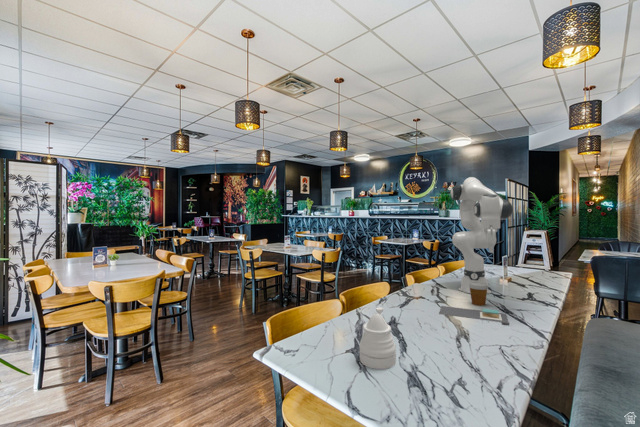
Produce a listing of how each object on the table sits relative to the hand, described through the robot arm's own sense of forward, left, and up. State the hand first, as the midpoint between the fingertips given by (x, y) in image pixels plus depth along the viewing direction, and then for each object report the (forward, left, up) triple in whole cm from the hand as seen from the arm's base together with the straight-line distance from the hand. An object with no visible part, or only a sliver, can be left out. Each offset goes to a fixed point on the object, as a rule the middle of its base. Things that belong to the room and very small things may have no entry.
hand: (490, 251), depth 157 cm
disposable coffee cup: (-6, -6, -31) cm, 32 cm away
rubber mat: (+13, -9, -31) cm, 35 cm away
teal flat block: (+13, -1, -30) cm, 33 cm away
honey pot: (+76, -39, -31) cm, 91 cm away
